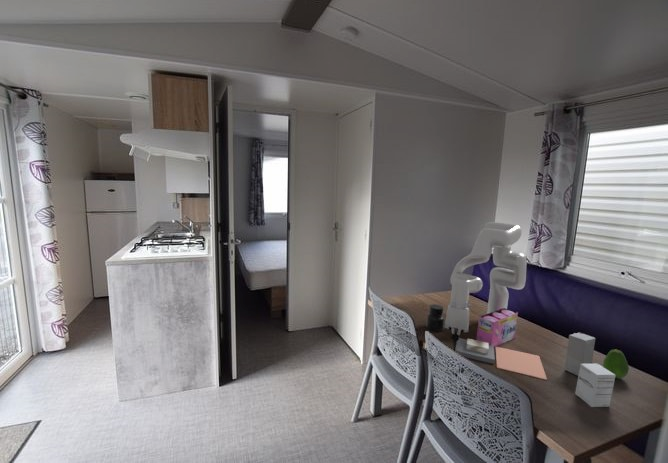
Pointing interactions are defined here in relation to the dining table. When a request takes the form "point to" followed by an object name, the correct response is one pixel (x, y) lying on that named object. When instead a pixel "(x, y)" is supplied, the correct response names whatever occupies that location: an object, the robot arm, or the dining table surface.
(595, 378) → the supplement box
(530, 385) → the dining table surface
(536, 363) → the mat
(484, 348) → the tile
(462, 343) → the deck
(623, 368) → the avocado
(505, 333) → the gum box
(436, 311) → the ink bottle
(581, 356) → the skincare box
